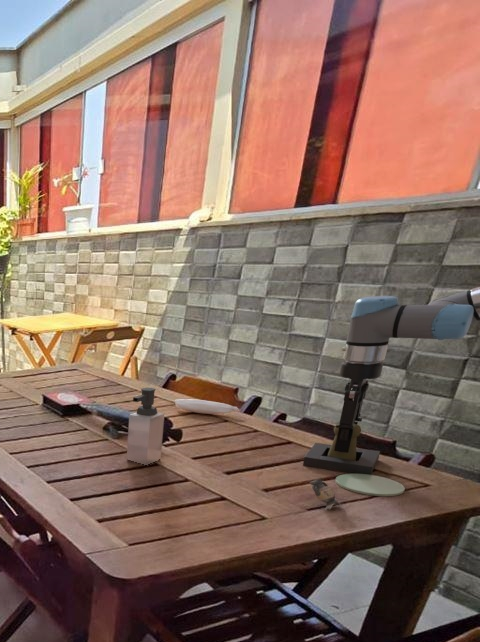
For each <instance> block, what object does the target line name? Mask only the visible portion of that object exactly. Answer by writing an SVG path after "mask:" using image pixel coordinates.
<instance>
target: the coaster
mask: <svg viewBox="0 0 480 642" xmlns="http://www.w3.org/2000/svg"><path fill="white" fill-rule="evenodd" d="M334 482H335V484H336V485H337V486H339V487H341V488H343V489H344V490H347V491H350V492H353V493H356V494H357V493H358V494H362V495H366V496H373V497H395V496H400V495H402V494H403V493H404V492H405V491H406V488H405V486H404V485H403V484H402V483H401V482H398V481H396V480H393V479H390V478H387V477H384V476H380V475H374V474H371V475H368V474H353V473H343V474H340V475H337V476H336V477H335V479H334Z"/></svg>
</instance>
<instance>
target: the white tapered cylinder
mask: <svg viewBox="0 0 480 642" xmlns="http://www.w3.org/2000/svg"><path fill="white" fill-rule="evenodd" d="M174 403H175V404H174V405H175V406H176V408H177V409H180V410H182V411H186V412H190V413H195V414H206V415H219V414H221V415H222V414H230V413H233V412H234V413H237V412H240V411H241V410H240V408H238V406H233V405H231V404H227V403H223V402H218V401H212V400H204V399H193V398H192V399H191V398H190V399H189V398H180V399H174Z"/></svg>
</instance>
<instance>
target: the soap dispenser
mask: <svg viewBox="0 0 480 642" xmlns="http://www.w3.org/2000/svg"><path fill="white" fill-rule="evenodd" d="M140 390H141V394H139V395H137V396H133V397H132V402H135V403H139V402H140V405H139V406H138V407H137V410H136V412H133V413H130V414H129V415H128V431H127V445H126V460H127V459H128V460H131V461H134V462H133V463H135V462H137V463H136V464H138V463H141V464H140V465H142V464H144V465H143V466H145V465H147V466H149V465H148V464H150V463H152V462H154V461H156V460H158V459H160V458H161V457H162V448H163V437H164V436H163V435H164V424H165V413H163V412H158V409H157V407H156V406H154V403H155V391H156V388H154V387H142V388H141V389H140ZM161 459H162V458H161ZM128 460H127V461H128ZM131 461H130V462H131ZM152 464H153V463H152ZM150 465H151V464H150Z"/></svg>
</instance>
